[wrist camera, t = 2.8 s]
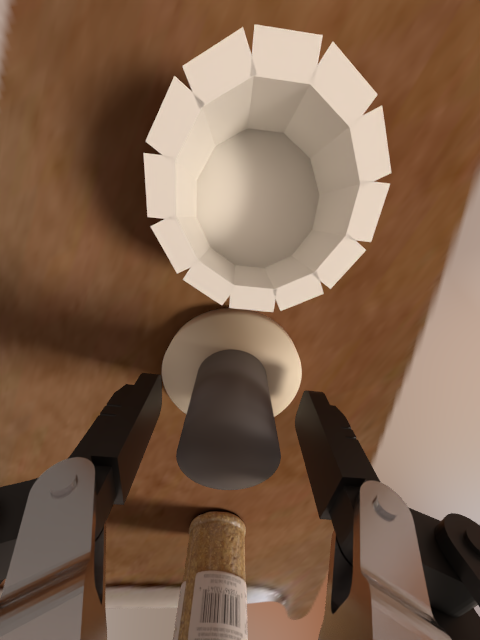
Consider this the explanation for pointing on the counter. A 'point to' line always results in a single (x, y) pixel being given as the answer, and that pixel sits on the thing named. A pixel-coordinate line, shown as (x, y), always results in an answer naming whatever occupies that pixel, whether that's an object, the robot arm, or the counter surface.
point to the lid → (230, 395)
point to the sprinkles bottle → (214, 580)
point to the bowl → (266, 169)
